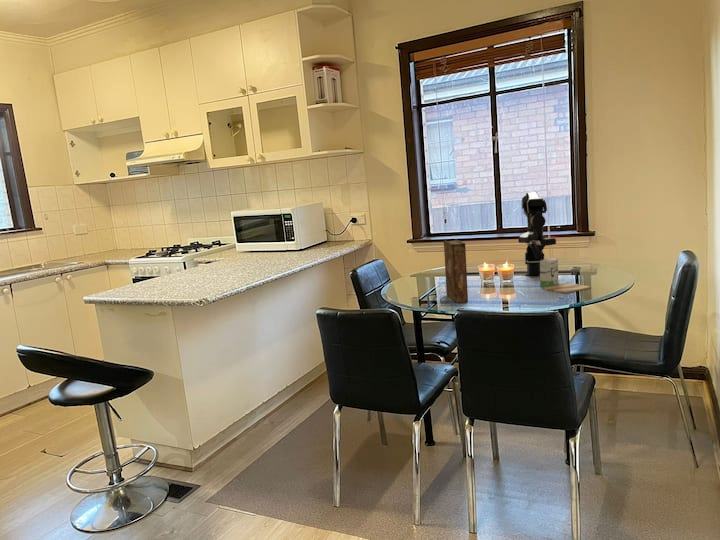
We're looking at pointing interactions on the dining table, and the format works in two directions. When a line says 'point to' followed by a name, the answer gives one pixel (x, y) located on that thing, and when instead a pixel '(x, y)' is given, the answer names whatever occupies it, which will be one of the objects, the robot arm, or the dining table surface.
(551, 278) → the ink box
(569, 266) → the dining table surface
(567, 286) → the cork trivet
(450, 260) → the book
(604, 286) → the dining table surface
